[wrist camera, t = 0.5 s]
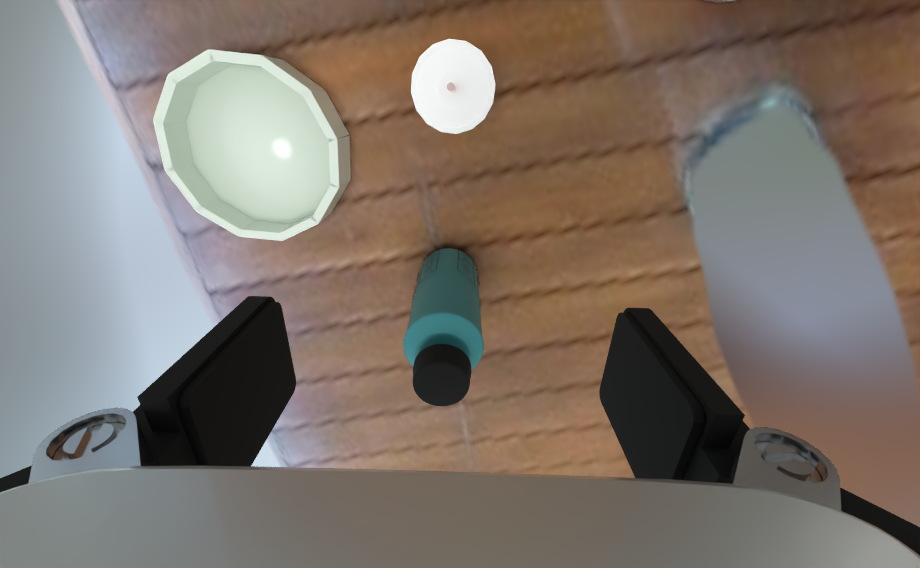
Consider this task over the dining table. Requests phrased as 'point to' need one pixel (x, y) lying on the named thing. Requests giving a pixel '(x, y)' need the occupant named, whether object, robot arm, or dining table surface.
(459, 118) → the beverage cup
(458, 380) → the beverage bottle
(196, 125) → the bowl
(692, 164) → the dining table surface
